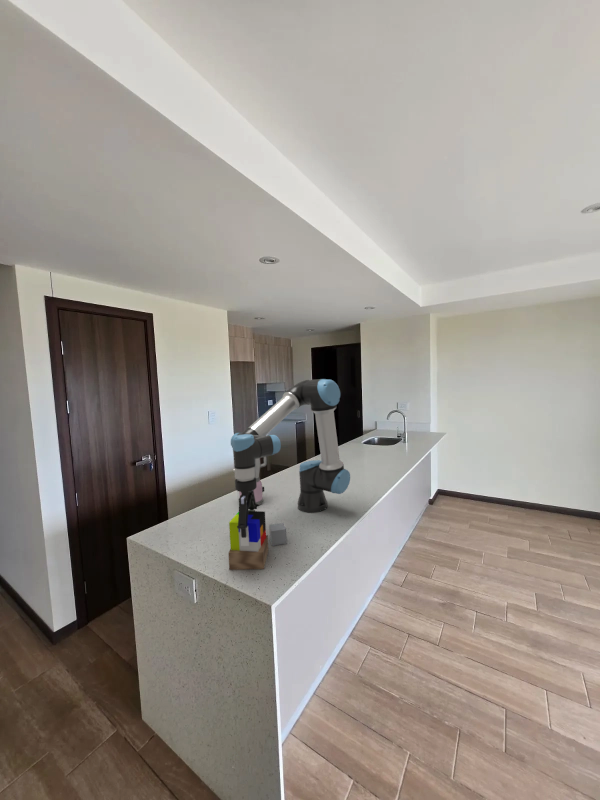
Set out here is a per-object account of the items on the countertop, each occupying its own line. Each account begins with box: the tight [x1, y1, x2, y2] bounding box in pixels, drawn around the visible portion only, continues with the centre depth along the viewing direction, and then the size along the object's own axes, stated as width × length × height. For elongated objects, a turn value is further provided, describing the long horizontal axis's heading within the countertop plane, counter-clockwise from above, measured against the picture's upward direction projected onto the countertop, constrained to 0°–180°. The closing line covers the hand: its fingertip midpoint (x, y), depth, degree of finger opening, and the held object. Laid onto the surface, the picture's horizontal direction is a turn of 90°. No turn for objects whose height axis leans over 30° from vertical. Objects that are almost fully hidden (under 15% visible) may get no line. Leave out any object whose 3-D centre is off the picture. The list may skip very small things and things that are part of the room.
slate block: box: [268, 522, 288, 547], centre depth 129 cm, size 6×6×6 cm
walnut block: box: [228, 534, 269, 571], centre depth 116 cm, size 12×12×6 cm
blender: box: [238, 456, 268, 507], centre depth 169 cm, size 16×12×32 cm
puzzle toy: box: [228, 510, 267, 552], centre depth 116 cm, size 10×10×10 cm
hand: (248, 535), depth 116 cm, fingers open, 13 cm apart
